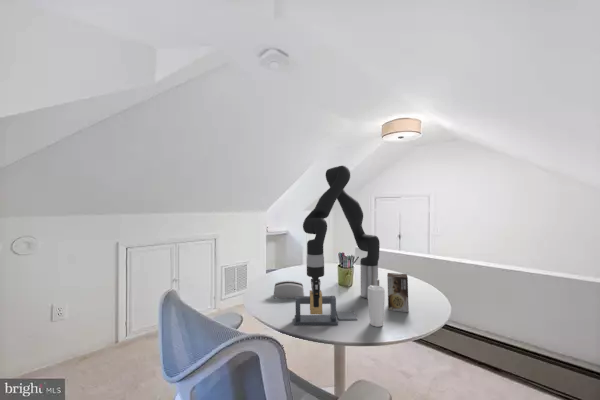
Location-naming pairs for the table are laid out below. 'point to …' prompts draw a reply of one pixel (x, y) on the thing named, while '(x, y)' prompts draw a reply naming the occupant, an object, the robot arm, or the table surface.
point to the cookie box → (398, 292)
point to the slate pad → (346, 315)
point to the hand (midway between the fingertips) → (315, 304)
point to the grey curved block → (288, 289)
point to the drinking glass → (376, 305)
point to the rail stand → (316, 319)
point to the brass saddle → (313, 309)
